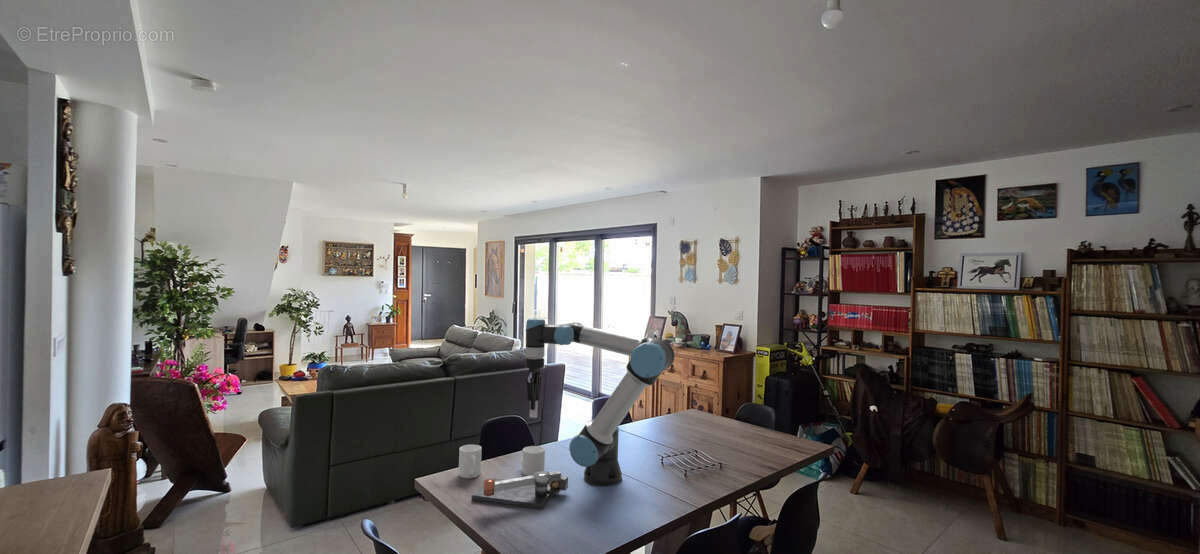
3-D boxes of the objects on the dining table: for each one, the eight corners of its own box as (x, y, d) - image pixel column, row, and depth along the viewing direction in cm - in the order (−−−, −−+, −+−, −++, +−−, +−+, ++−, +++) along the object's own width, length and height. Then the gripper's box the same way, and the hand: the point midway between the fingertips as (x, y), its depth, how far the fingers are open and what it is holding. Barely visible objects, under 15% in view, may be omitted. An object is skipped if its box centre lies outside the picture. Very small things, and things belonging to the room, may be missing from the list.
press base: (567, 492, 182) (567, 476, 182) (553, 511, 166) (554, 493, 166) (491, 483, 189) (492, 467, 189) (471, 500, 173) (472, 483, 173)
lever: (555, 478, 182) (556, 466, 182) (562, 483, 176) (562, 471, 176) (481, 491, 168) (481, 478, 168) (486, 498, 163) (486, 484, 163)
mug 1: (462, 483, 188) (463, 455, 188) (456, 472, 198) (457, 446, 199) (485, 480, 192) (486, 452, 192) (477, 469, 202) (478, 443, 203)
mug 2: (548, 473, 200) (549, 450, 200) (529, 478, 194) (530, 454, 195) (532, 464, 209) (533, 442, 210) (514, 469, 204) (514, 446, 204)
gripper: (531, 355, 202) (530, 412, 202) (519, 359, 189) (518, 420, 189) (548, 355, 200) (547, 413, 200) (538, 360, 188) (536, 422, 187)
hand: (533, 417), depth 194 cm, fingers closed
